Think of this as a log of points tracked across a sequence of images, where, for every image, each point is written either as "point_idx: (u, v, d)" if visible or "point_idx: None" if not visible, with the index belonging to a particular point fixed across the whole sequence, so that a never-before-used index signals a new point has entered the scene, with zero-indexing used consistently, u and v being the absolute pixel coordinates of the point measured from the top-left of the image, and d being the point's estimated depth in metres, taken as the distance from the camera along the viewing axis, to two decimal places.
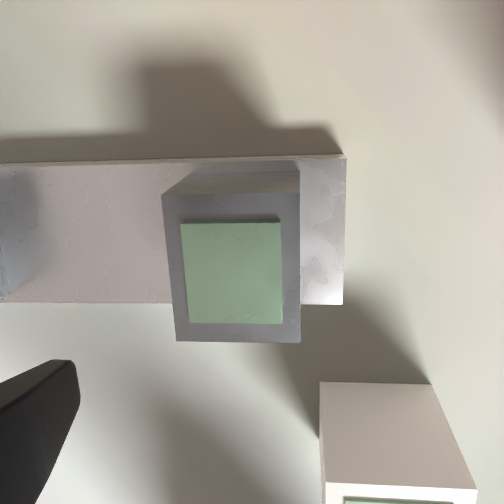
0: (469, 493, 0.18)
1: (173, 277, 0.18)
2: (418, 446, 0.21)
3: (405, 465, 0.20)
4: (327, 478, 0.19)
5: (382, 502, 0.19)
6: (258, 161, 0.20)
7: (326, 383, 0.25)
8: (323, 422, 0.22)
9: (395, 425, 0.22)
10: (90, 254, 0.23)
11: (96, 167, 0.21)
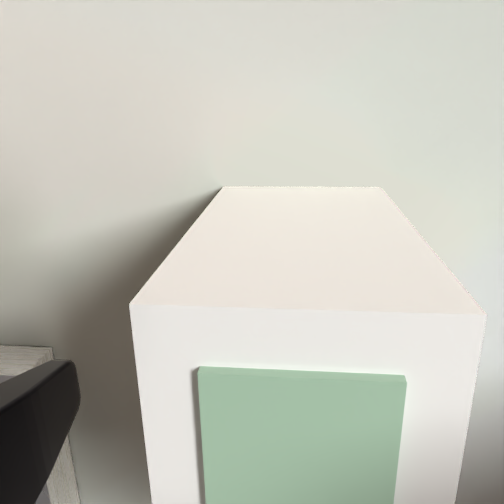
0: (148, 325, 0.05)
1: None
2: None
3: None
4: None
5: None
6: None
7: None
8: None
9: None
10: None
11: None
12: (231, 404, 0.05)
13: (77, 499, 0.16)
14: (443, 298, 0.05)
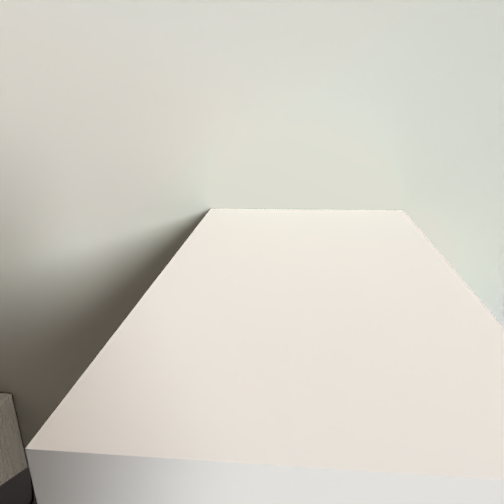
0: (59, 481, 0.03)
1: None
2: None
3: None
4: None
5: None
6: None
7: None
8: None
9: None
10: None
11: None
12: None
13: None
14: None
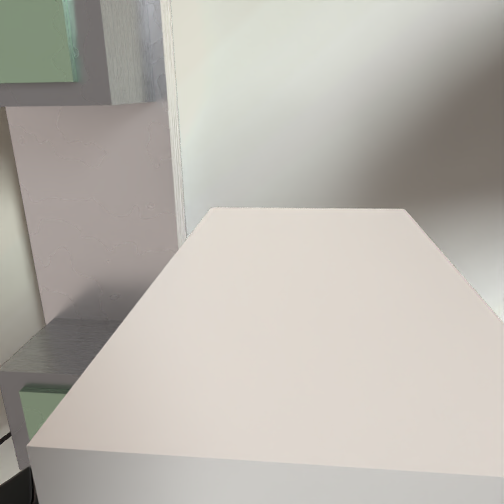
0: (60, 478, 0.03)
1: (26, 101, 0.15)
2: None
3: None
4: None
5: None
6: None
7: None
8: None
9: None
10: (119, 227, 0.20)
11: (25, 205, 0.21)
12: None
13: (174, 74, 0.19)
14: None
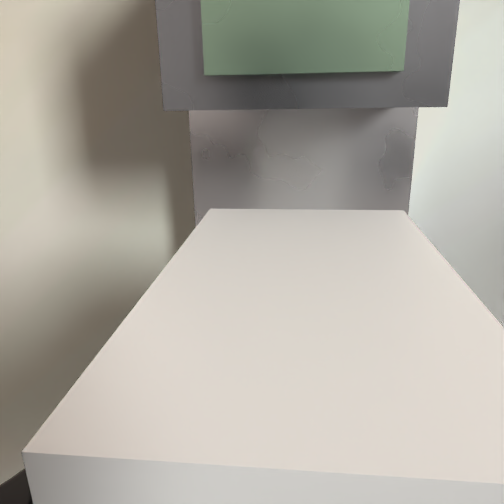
0: (55, 485, 0.03)
1: (311, 100, 0.10)
2: None
3: None
4: None
5: None
6: None
7: None
8: None
9: None
10: None
11: None
12: None
13: None
14: None
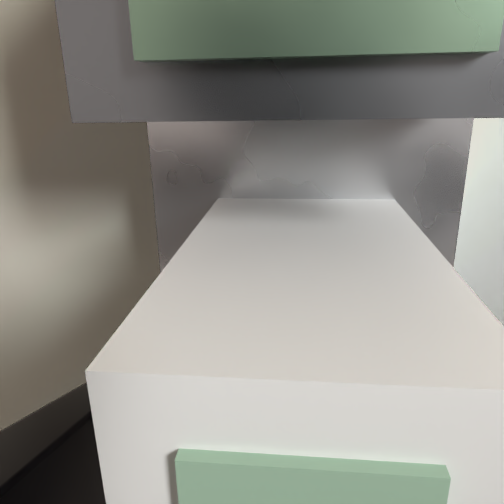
0: (110, 398, 0.04)
1: (325, 106, 0.05)
2: None
3: None
4: None
5: None
6: None
7: None
8: None
9: None
10: None
11: None
12: (219, 499, 0.04)
13: None
14: (495, 363, 0.04)
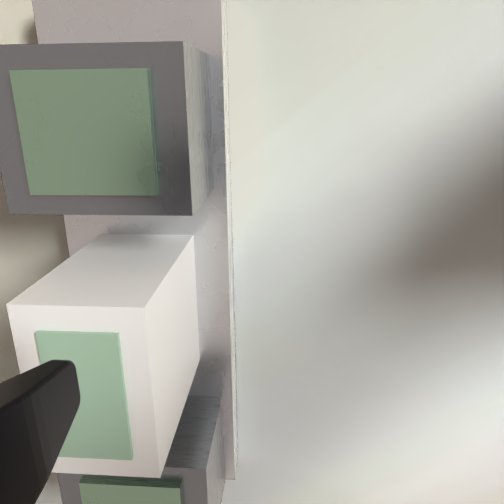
0: (14, 313, 0.13)
1: (104, 210, 0.14)
2: None
3: None
4: None
5: None
6: None
7: None
8: None
9: None
10: None
11: None
12: (50, 346, 0.13)
13: (229, 157, 0.20)
14: (136, 301, 0.13)
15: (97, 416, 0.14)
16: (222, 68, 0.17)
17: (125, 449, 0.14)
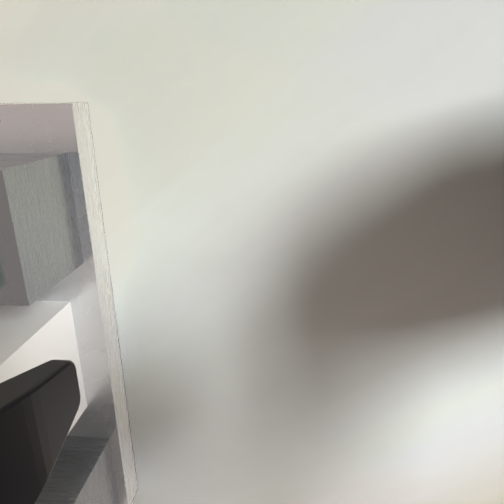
0: None
1: None
2: None
3: None
4: None
5: None
6: None
7: None
8: None
9: None
10: None
11: None
12: None
13: (103, 232, 0.22)
14: None
15: None
16: (80, 164, 0.20)
17: None
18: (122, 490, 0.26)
